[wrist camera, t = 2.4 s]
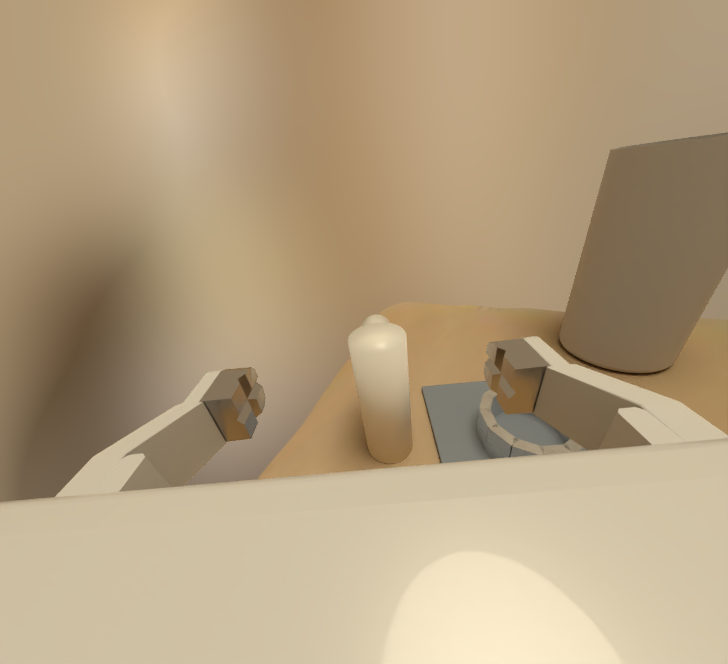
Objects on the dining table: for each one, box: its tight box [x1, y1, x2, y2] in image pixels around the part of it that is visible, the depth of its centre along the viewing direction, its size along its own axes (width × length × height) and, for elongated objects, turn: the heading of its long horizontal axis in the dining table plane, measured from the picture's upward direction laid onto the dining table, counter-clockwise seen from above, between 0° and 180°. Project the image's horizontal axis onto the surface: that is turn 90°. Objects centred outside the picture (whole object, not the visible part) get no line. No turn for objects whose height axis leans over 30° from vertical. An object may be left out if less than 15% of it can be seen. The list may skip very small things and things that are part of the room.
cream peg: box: [348, 315, 412, 464], centre depth 28 cm, size 8×5×14 cm, turn 1°
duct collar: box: [477, 390, 586, 459], centre depth 27 cm, size 9×9×4 cm
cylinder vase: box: [559, 133, 728, 373], centre depth 33 cm, size 12×12×25 cm
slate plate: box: [422, 381, 565, 463], centre depth 28 cm, size 18×18×1 cm
